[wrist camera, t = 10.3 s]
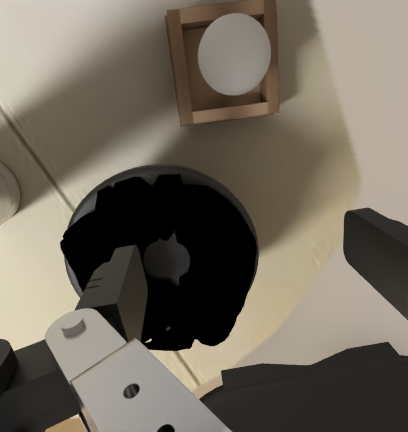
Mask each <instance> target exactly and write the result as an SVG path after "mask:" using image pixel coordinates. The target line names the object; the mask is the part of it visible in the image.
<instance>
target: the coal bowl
mask: <svg viewBox="0 0 408 432" xmlns="http://www.w3.org/2000/svg"><path fill="white" fill-rule="evenodd" d="M63 238H64V239H63V240H62V241H61V242H60V247H61V250H62V252H63V254H64V259H65V265H66V270H67V273H68V277H69V279H70V281H71V284H72V286H73V288H74V289H75V291H76V293H77V294H78V296H79V297H80V298H81V296H82V294H83V292H84V290H85V289H86V286H87V284H88V282H90V279H91V277H92V275H93V273H94V271H95V270H96V269H97V268H98V267H100V266H101V265H102V264H103V263H106V262H110V260H111V258H112V256H113V253H114V251H115V249H116V248H120V247H126V246H132V245H137V247H138V250H139V253H140V257H141V261H142V265H143V269H144V273H145V277H146V282H147V289H148V297H147V303H146V309H145V315H144V321H143V328H142V334H141V340H140V342H141V343H142V344H143V345H144V346H145V347H146V348H147V349H149V350H164V351H168V350H169V351H178V350H182V349H190V348H191V347H192V344H193V342H194V340H195V339H197V340H199V342H200V343H202V344H205V345H208V346H215V345H218V344H219V343H221V342H223V341H225V339H226V338H227V337H228V336H229V334H230V332H231V330H232V328H233V327H234V325H235V322H236V318H237V316H238V315H239V313H240V312H241V310H242V307H244V304H245V299H246V296H247V293H248V291H249V290H250V288H251V286H252V283H253V281H254V278H255V275H256V271H257V266H258V257H259V250H258V240H257V235H256V231H255V228H254V225H253V223H252V220H251V218H250V216H249V214H248V213H247V211H246V210H245V208H244V207H243V205H242V204H241V203H240V202H239V200H238V199H237V198H236V197H235V196H234V195H233V194H232V193H231V192H230V191H229V190H228V189H227V188H226V187H224V186H223V185H222V184H221V183H219V182H218V181H216V180H215V179H213V178H211V177H209V176H207V175H205V174H203V173H201V172H198V171H196V170H193V169H190V168H186V167H182V166H177V165H167V164H155V165H146V166H140V167H135V168H132V169H129V170H126V171H123V172H121V173H118V174H116V175H114V176H112V177H110V178H109V179H107V180H105V181H104V182H102V183H101V184H99V185H98V186H96V187H95V188H94V189H93V190H92V191H91V192H90V193H88V195H87V196H86V197H85V198H84V199H83V200H82V201H81V203H80V204H79V205H78V207H77V208H76V210H75V212H74V214H73V215H72V218H71V220H70V222H69V225H68V228H67V230H66V231H65V233H64V235H63ZM149 339H152V341H150V342H148V343H145V342H146V341H148V340H149Z"/></svg>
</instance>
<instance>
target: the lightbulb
mask: <svg viewBox="0 0 408 432" xmlns="http://www.w3.org/2000/svg"><path fill="white" fill-rule="evenodd" d="M270 59H271V47H270V41H269V38H268V35H267V33H266V31H265V29H264V28H263V27H262V25H261V24H260V23H259V22H258V21H257V20H255V19H254V18H252V17H250V16H248V15H246V14H241V13H232V14H228V15H224V16H222V17H220V18H218V19H216V20H215V21H214V22H213V23H211V24H210V26H209V27H208V28H207V29H206V31H205V33H204V35H203V36H202V39H201V42H200V45H199V50H198V63H199V68H200V71H201V73H202V76H203V78H204V79H205V81H206V82H207V83H208V85H209V86H210V87H211V88H213V89H214V90H216V91H217V92H219V93H222V94H225V95H240V94H244V93H246V92H249V91H251V90H252V89H253V88H255V87H256V86H257V85H258V84H259V83H260V82H261V81H262V79H263V77H264V76H265V74H266V72H267V70H268V67H269V64H270Z"/></svg>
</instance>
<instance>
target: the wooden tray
mask: <svg viewBox="0 0 408 432" xmlns="http://www.w3.org/2000/svg"><path fill="white" fill-rule="evenodd" d="M232 13H241V14H246V15H248V16H250V17H252V18H254V19H255V20H257V21H258V22H259V23H260V24H261V25H262V27H263V28H264V29H265V31H266V33H267V35H268V38H269V41H270V47H271V59H270V64H269V67H268V70H267V72H266V74H265V76H264V77H263V79H262V81H261V82H260V83H259V84H258V85H257V86H256V87H255V88H253V89H252V90H251V91H249V92H246V93H244V94H240V95H225V94H222V93H219V92H217V91H216V90H214V89H213V88H211V87H210V86H209V85H208V83H207V82H206V81H205V79H204V78H203V76H202V73H201V71H200V68H199V63H198V50H199V45H200V42H201V39H202V36H203V35H204V33H205V31H206V29H207V28H208V27H209V26H210V24H211V23H213V22H214V21H215V20H216V19H218V18H220V17H222V16H224V15H228V14H232ZM165 20H166V27H167V34H168V41H169V48H170V55H171V62H172V69H173V76H174V83H175V90H176V97H177V104H178V111H179V118H180V125H181V126H186V125H194V124H202V123H209V122H217V121H225V120H232V119H240V118H248V117H256V116H263V115H271V114H274V113H279V90H278V52H277V14H276V0H247V1H239V2H231V3H223V4H215V5H207V6H199V7H191V8H183V9H175V10H167V16H165Z"/></svg>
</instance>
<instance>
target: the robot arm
mask: <svg viewBox="0 0 408 432" xmlns="http://www.w3.org/2000/svg"><path fill="white" fill-rule="evenodd" d="M19 203H20V190H19V186H18V183H17V181H16V179H15V177H14V176H13V174H12V173H11V172H10V170H9V169H8V168H7V167H6V166H5V165H3V164H2V163H1V162H0V224H2V223H3V222H5V221H6V220H8V219H9V218H11V217H12V216H13V215H14V214H15V213H16V211H17V209H18V207H19ZM343 251H344V255H345V258H346V260H347V262H348V263H349V264H350V265H351V266H352V267H353V268H354V269H355V270H356V271H357V272H358V273H359V274H360V275H361V276H362V277H363V278H364V279H365V280H366V281H368V282H369V283H370V284H371V285H372V286H373V287H374V288H375V289H376V290H377V291H378V292H379V293H380V294H381V295H382V296H383V297H384V298H385V299H386V300H387V301H389V303H390V304H392V305H393V306H394V307H395V308H396V309H397V310H398V311H399V312H400V313H401V314H402V315H403V316H404V317H405V318H406V319H407V320H408V226H407V225H405V224H403V223H401V222H399V221H395V220H392V219H388V218H387V217H385V216H383V215H381V214H379V213H378V212H376V211H374V210H372V209H370V208H362V209H356V210H350V211H347V212H346V213H345V217H344V241H343ZM147 297H148V289H147V282H146V277H145V273H144V269H143V265H142V261H141V257H140V253H139V250H138V247H137V245H132V246H126V247H120V248H116V249H115V251H114V253H113V256H112V258H111V260H110V262H106V263H103V264H102V265H101V266H100V267H98V268H97V269H96V270H95V271H94V273H93V275H92V277H91V279H90V282H88V284H87V286H86V289H85V290H84V292H83V294H82V296H81V298H80V300H79V302H78V304H77V306H76V308H75V310H74V311H72V312H69V313H67V314H65V315H64V316H62V317H60V318H59V319H57V320H56V321H55V322H54V323H53V324H52V325H51V326H50V327H49V328H48V330H47V332H46V334H45V339H44V340H42V341H40V342H37V343H35V344H32V345H29V346H27V347H24V348H21V349H19V350H16V351H13V349H12V347H11V345H10V343H9V342H8V341H7V340H4V339H0V432H45V430H46V429H47V428H50V427H52V426H54V425H55V424H58V423H60V422H62V421H64V420H66V419H69V418H71V417H73V416H75V415H77V414H78V416H79V418H80V420H81V422H82V424H83V426H84V428H85V430H86V432H408V356H403V355H399V354H398V353H397V352H396V351H395V349H394V348H393V347H392V346H391V345H390V344H389V342H384V343H379V344H373V345H367V346H361V347H355V348H350V349H346V350H344V351H341V352H339V353H337V354H335V355H333V356H330V357H328V358H326V359H324V360H321V361H319V362H317V363H315V364H312V365H307V366H306V365H283V364H257V365H251V366H245V367H239V368H234V369H228V370H222V371H221V374H222V381H223V385H221V386H219V387H217V388H215V389H213V390H212V391H210V392H208V393H207V394H205V395H204V396H203V397H201V398H200V399H198V398H197V397H196V396H195V395H194V394H193V393H192V392H191V391H190V390H189V389H188V388H187V387H186V386H185V385H184V384H183V383H182V382H181V381H180V380H179V379H177V378H176V377H175V376H174V375H173V374H172V373H171V372H170V371H169V370H168V369H167V368H166V367H165V366H164V365H163V364H162V363H161V362H160V361H159V360H158V359H157V358H156V357H155V356H154V355H153V354H152V353H151V352H150V351H149V350H148V349H147V348H146V347H145V346H144V345H143V344H142V343H141V342H140V340H141V334H142V328H143V321H144V315H145V309H146V303H147Z"/></svg>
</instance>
